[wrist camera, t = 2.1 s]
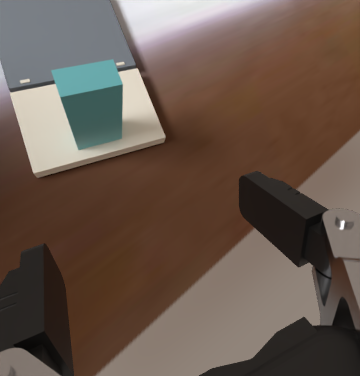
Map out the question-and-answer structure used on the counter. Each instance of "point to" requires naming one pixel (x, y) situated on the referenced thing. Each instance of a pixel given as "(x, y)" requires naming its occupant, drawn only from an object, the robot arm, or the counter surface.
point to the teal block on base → (85, 117)
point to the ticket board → (57, 39)
